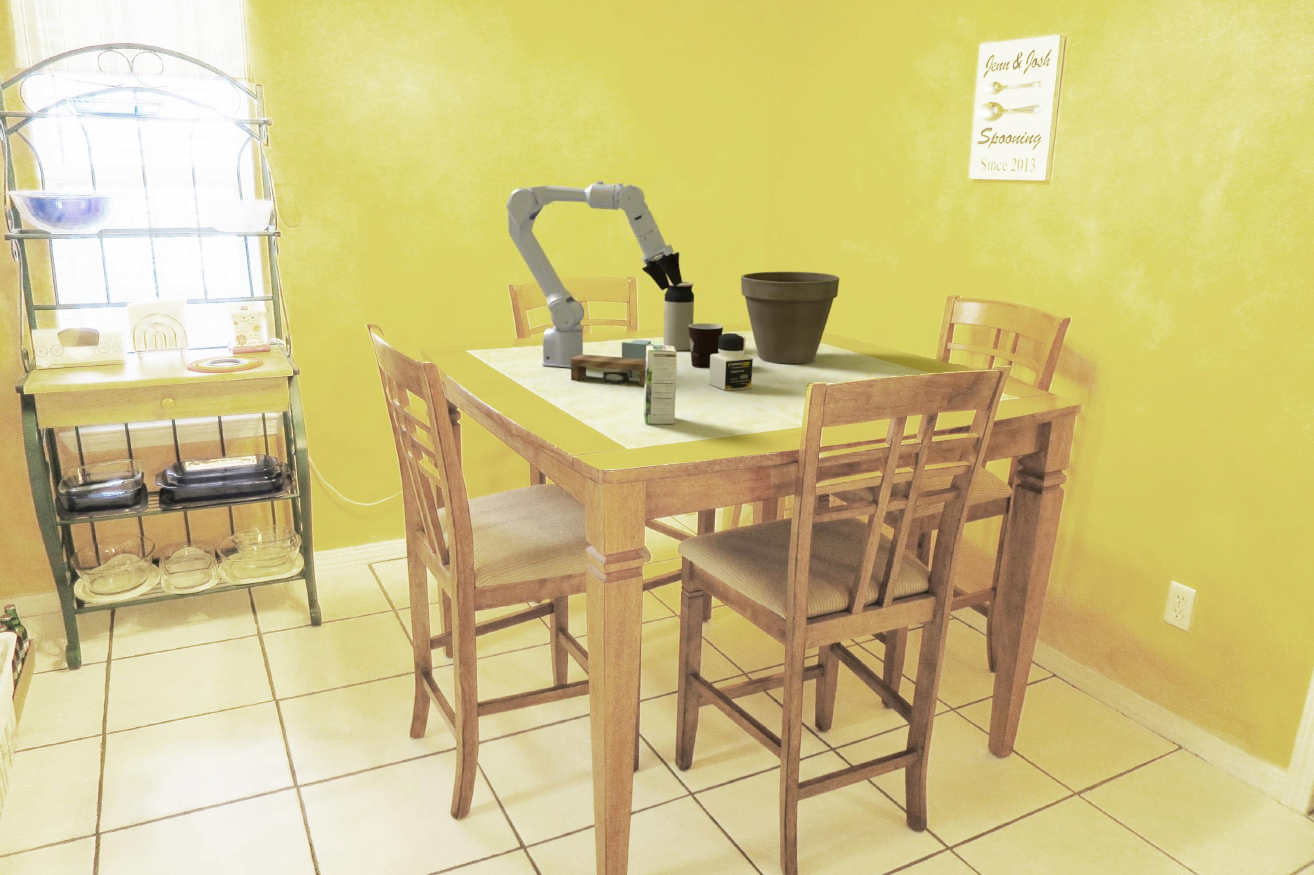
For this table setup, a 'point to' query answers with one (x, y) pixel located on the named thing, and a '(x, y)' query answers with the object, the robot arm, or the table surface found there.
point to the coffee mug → (704, 343)
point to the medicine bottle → (731, 364)
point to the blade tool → (635, 352)
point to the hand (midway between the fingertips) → (672, 286)
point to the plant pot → (788, 312)
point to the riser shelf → (606, 365)
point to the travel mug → (678, 315)
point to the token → (616, 376)
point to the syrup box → (660, 384)
